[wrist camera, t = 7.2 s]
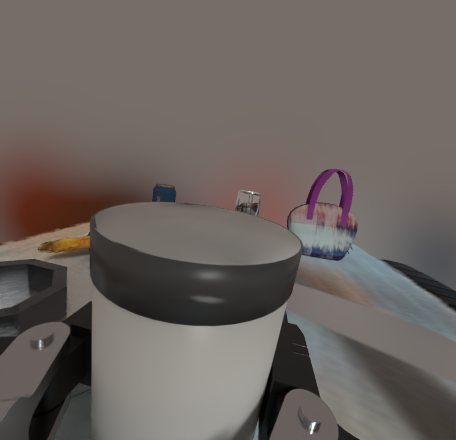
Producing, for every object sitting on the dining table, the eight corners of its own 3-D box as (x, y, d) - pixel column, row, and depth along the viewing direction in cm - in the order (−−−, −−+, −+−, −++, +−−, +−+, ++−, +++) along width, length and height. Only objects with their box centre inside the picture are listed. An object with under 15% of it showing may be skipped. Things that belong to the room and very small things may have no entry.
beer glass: (227, 237, 64) (235, 188, 61) (248, 239, 65) (258, 192, 62) (232, 245, 57) (241, 191, 54) (255, 248, 59) (266, 195, 56)
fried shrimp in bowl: (175, 236, 43) (84, 217, 28) (145, 275, 45) (43, 277, 29) (155, 210, 48) (66, 181, 32) (128, 246, 49) (31, 235, 34)
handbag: (341, 252, 69) (365, 175, 64) (358, 265, 59) (388, 176, 54) (277, 241, 69) (295, 163, 64) (284, 252, 59) (306, 162, 54)
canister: (196, 395, 13) (226, 204, 10) (262, 525, 8) (345, 249, 6) (84, 460, 9) (83, 198, 7) (96, 733, 5) (107, 298, 2)
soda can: (171, 219, 73) (175, 185, 71) (174, 225, 67) (178, 188, 64) (150, 218, 70) (153, 182, 68) (151, 224, 64) (154, 185, 62)
